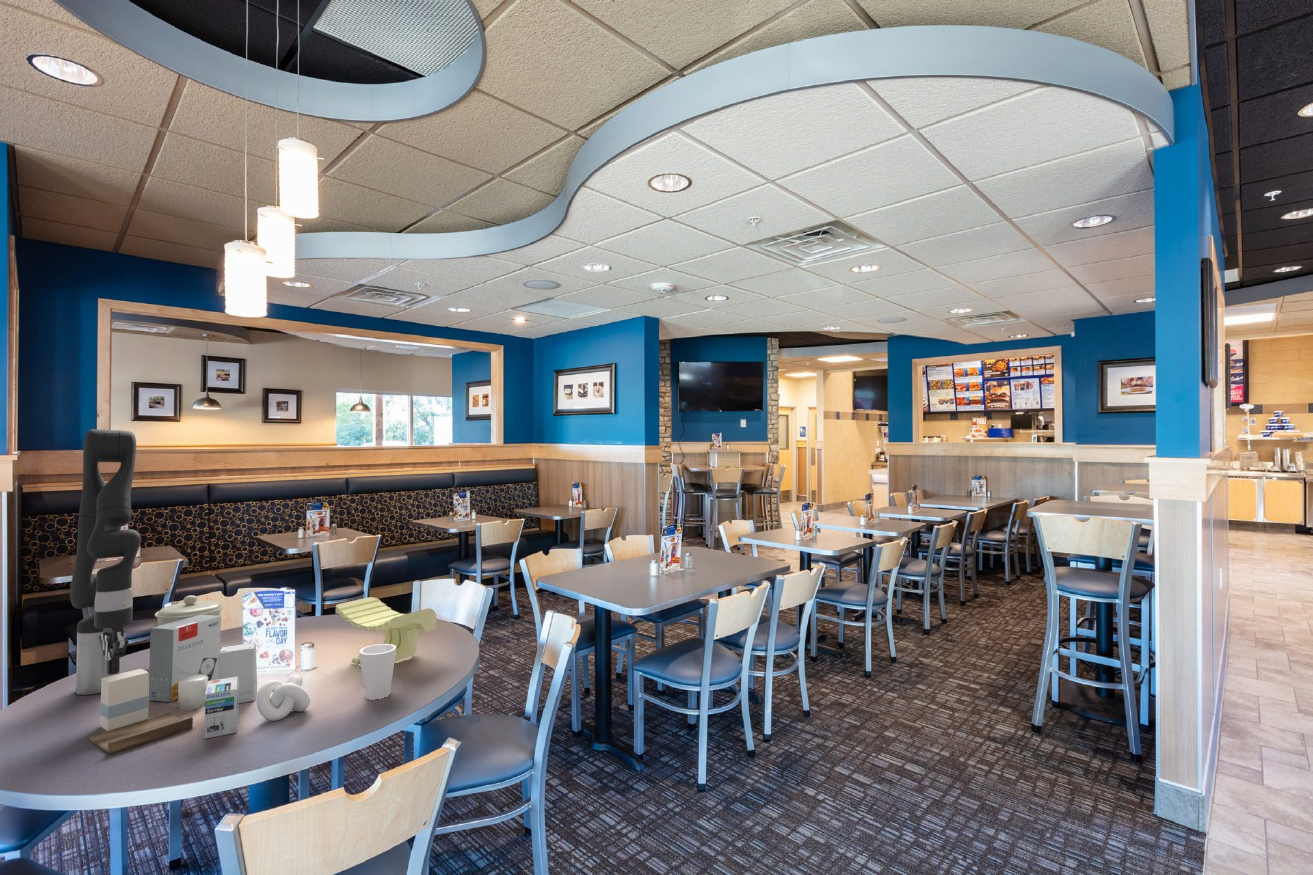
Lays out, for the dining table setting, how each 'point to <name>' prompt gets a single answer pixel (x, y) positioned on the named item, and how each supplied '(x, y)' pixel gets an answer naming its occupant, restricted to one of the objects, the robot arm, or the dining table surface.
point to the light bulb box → (221, 707)
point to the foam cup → (377, 669)
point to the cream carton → (124, 699)
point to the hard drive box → (183, 654)
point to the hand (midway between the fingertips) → (113, 673)
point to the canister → (188, 610)
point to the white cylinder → (192, 692)
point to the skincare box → (240, 668)
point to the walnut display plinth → (140, 732)
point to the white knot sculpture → (282, 698)
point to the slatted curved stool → (388, 623)
